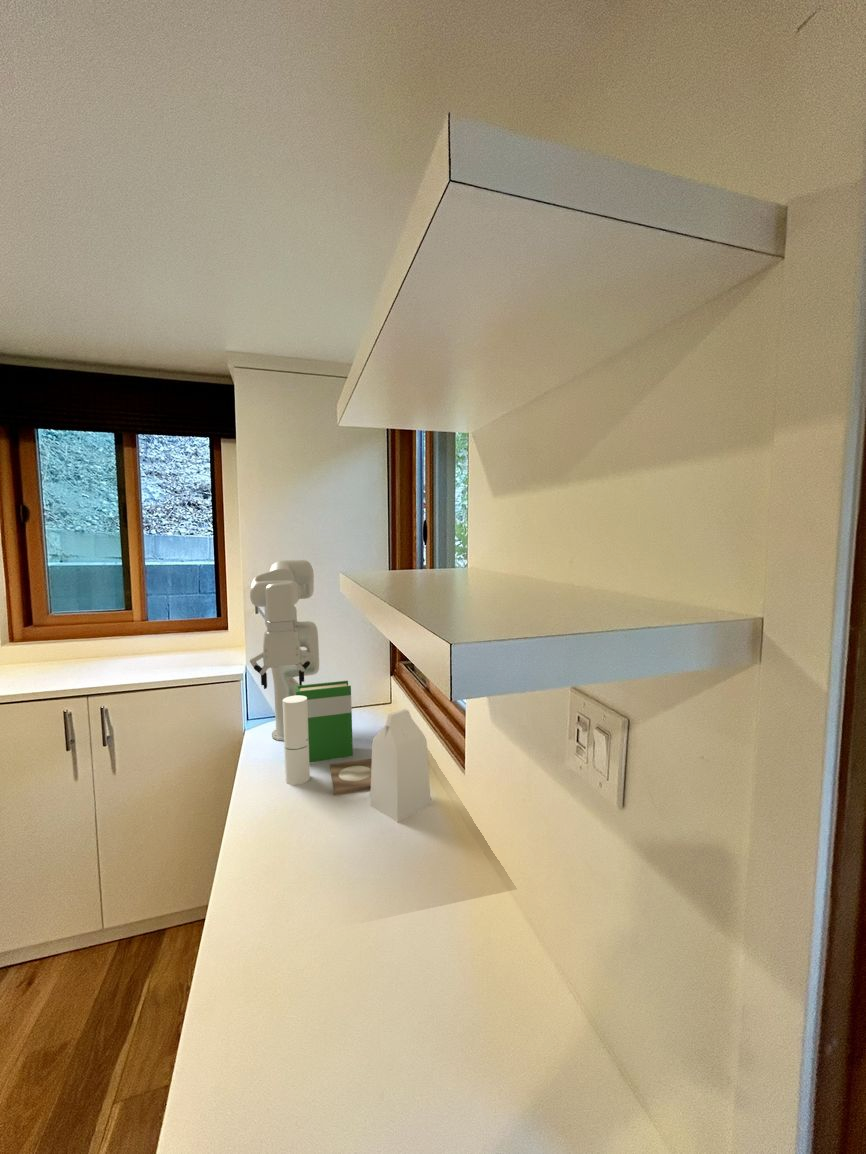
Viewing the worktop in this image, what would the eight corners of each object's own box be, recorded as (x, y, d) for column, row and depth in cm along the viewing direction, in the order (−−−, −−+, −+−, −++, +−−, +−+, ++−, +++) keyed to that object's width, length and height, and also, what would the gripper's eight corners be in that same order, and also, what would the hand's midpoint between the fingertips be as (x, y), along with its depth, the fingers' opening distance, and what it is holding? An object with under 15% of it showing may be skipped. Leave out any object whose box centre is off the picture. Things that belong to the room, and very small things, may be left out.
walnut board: (330, 767, 158) (330, 763, 158) (373, 761, 162) (373, 757, 162) (334, 794, 141) (334, 790, 141) (382, 787, 145) (382, 783, 145)
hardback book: (349, 747, 174) (347, 680, 172) (352, 755, 167) (350, 686, 165) (297, 754, 168) (295, 685, 167) (298, 764, 161) (296, 691, 160)
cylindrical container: (313, 774, 154) (310, 695, 152) (305, 785, 147) (302, 703, 145) (291, 773, 155) (288, 695, 153) (281, 784, 148) (278, 702, 146)
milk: (403, 790, 143) (401, 702, 141) (430, 804, 135) (429, 711, 133) (370, 805, 135) (367, 712, 133) (397, 822, 127) (395, 723, 125)
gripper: (311, 622, 146) (313, 679, 147) (249, 626, 141) (252, 685, 143) (312, 626, 139) (314, 686, 140) (247, 630, 134) (249, 692, 135)
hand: (283, 685), depth 141 cm, fingers open, 9 cm apart
